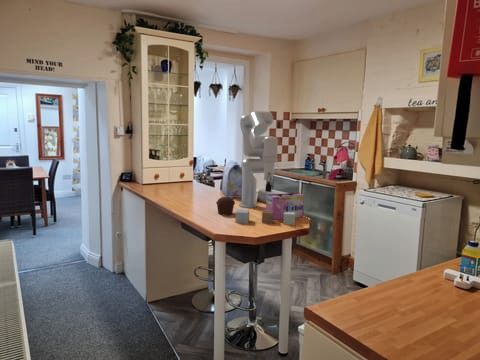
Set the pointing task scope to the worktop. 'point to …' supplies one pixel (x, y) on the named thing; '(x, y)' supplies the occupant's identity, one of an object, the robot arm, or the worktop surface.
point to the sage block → (289, 218)
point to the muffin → (225, 205)
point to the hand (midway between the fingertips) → (268, 190)
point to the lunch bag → (232, 180)
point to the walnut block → (267, 216)
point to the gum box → (285, 204)
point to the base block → (242, 216)
